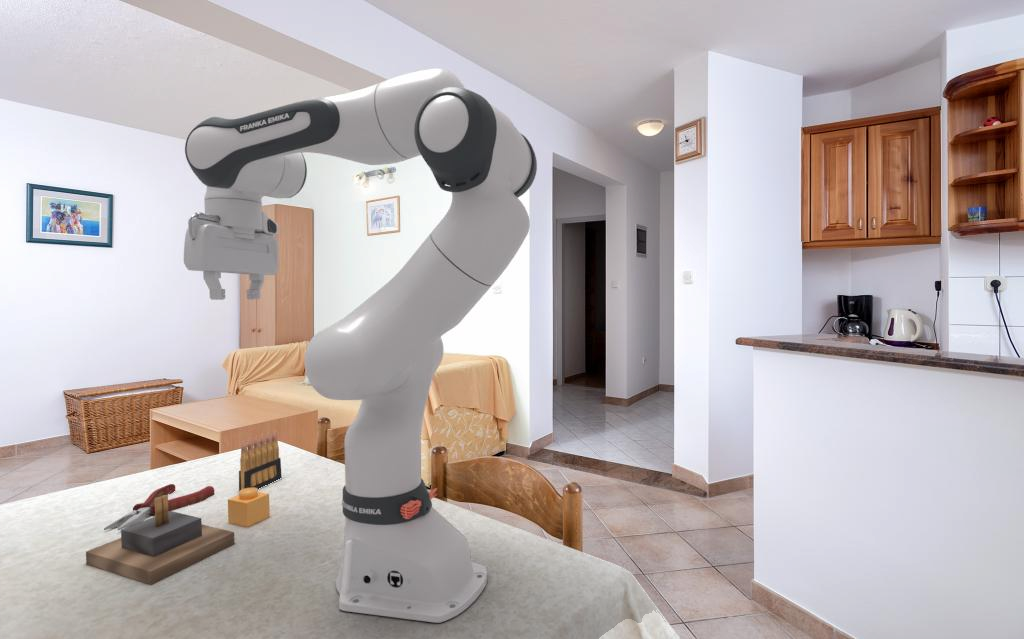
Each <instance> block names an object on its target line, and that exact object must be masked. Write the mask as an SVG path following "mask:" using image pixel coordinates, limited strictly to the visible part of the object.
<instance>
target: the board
mask: <svg viewBox="0 0 1024 639" xmlns="http://www.w3.org/2000/svg"><path fill="white" fill-rule="evenodd" d="M168 500H169V495H163V496H161V497H157V498H155V499H154V502H155V516H152V517H150V518H148V519H145V520H144V521H142V522H139V523H136V524H134V525H131V526H128V527H126V528H123V529H120V538H118V539H115V540H112V541H109V542H107V543H105V544H102V545H100V546H97V547H95V548H92V549H90V550H87V551H85V558H86V559H85V561H86V564H85V565H88V566H91V567H94V568H98V569H101V570H104V571H107V572H110V573H113V574H117V575H120V576H123V577H126V578H129V579H131V580H135V581H138V582H141V583H143V584H147V585H154V584H155V583H157V582H160V581H161V580H163V578H164V579H165V578H168V577H169V576H171V575H173V574H176V573H178V572H180V571H181V570H184V569H186V568H188V567H189V566H192V565H194V564H196V563H199V562H200V561H202V560H204V559H206V558H208V557H210V556H213V555H215V554H216V553H218V552H220V551H222V550H224V549H226V548H228V547H231V546H232V545H235V532H234V531H231V530H226V529H223V528H222V529H221V528H219V527H218V528H217V527H213V526H211V525H210V526H209V525H205V524H202V518H201V517H198V516H194V515H189V514H186V513H181V512H176V511H173V510H171V511H168Z"/></svg>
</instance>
